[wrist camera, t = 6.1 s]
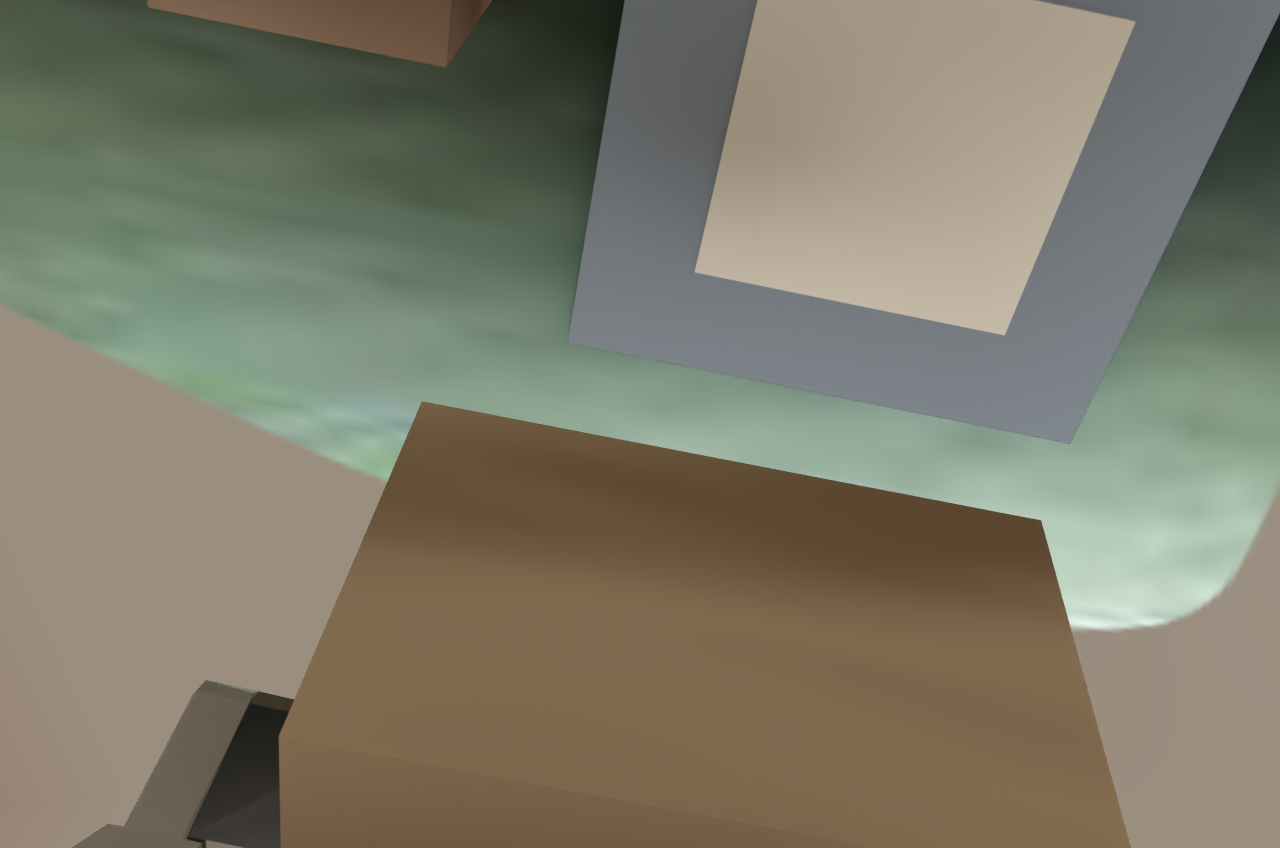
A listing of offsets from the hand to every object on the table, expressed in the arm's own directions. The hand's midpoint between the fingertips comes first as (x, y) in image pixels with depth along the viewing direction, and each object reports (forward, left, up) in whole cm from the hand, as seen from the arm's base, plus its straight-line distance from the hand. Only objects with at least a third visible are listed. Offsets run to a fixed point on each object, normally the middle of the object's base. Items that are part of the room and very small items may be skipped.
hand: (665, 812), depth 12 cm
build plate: (-1, +3, -17) cm, 17 cm away
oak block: (0, 0, -2) cm, 2 cm away
